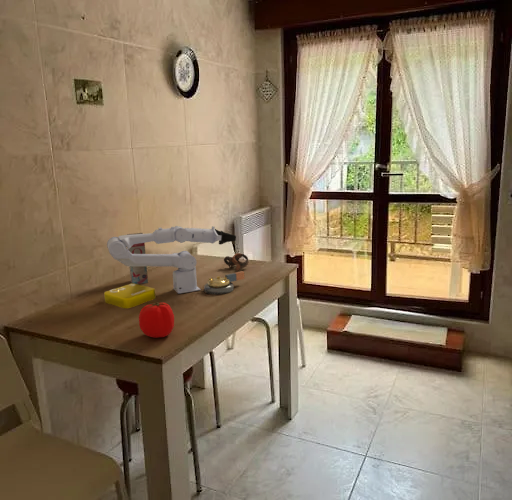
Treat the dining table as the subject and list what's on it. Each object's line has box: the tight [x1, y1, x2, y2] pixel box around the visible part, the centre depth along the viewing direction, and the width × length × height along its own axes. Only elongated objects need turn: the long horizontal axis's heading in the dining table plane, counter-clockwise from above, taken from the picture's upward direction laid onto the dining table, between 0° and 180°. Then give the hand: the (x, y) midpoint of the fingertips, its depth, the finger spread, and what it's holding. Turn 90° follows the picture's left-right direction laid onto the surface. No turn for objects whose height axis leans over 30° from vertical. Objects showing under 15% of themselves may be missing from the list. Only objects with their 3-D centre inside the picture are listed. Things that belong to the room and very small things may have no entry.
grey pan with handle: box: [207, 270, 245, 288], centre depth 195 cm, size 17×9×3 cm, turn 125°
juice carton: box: [126, 232, 149, 285], centre depth 206 cm, size 7×7×22 cm
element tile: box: [103, 282, 157, 309], centre depth 184 cm, size 15×15×5 cm
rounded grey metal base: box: [203, 281, 235, 295], centre depth 193 cm, size 12×12×2 cm
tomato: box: [138, 301, 175, 339], centre depth 149 cm, size 12×12×11 cm
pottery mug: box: [223, 252, 250, 272], centre depth 225 cm, size 12×10×8 cm
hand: (232, 237), depth 198 cm, fingers open, 7 cm apart
